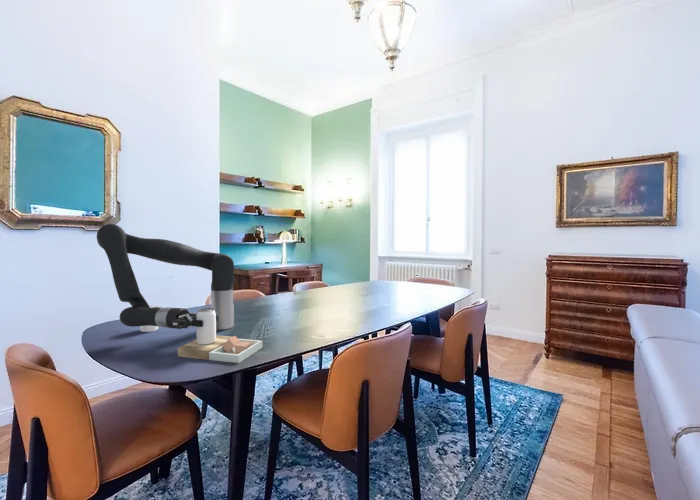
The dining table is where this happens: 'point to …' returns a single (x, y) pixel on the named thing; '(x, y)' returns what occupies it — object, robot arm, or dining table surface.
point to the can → (206, 326)
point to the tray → (222, 355)
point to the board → (201, 348)
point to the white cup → (149, 328)
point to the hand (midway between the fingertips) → (210, 320)
